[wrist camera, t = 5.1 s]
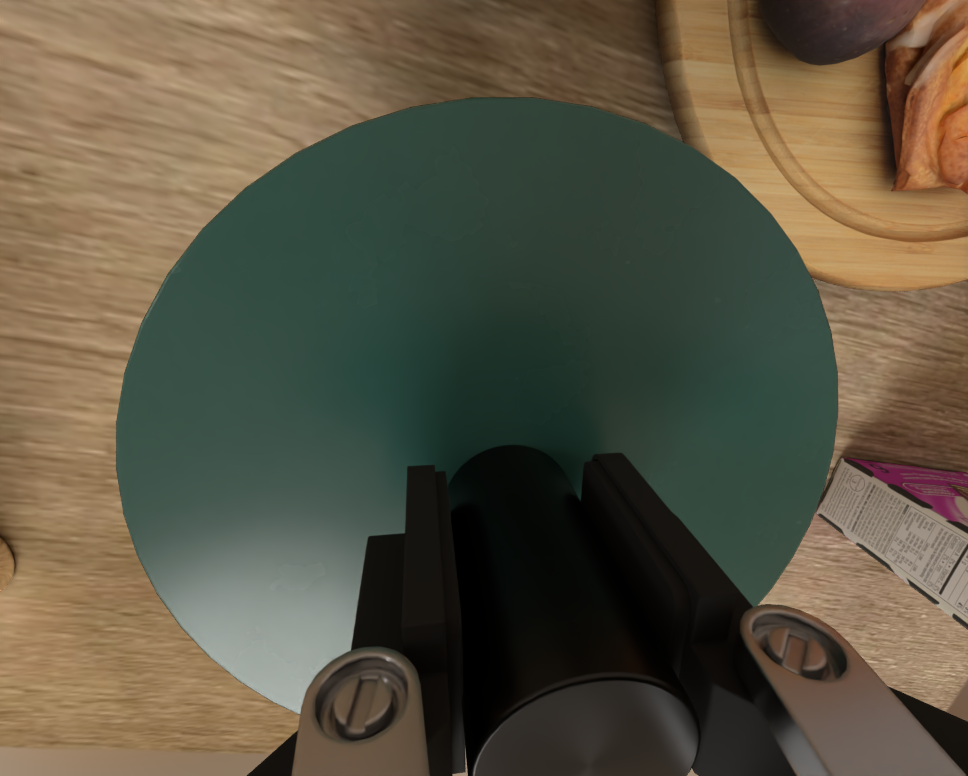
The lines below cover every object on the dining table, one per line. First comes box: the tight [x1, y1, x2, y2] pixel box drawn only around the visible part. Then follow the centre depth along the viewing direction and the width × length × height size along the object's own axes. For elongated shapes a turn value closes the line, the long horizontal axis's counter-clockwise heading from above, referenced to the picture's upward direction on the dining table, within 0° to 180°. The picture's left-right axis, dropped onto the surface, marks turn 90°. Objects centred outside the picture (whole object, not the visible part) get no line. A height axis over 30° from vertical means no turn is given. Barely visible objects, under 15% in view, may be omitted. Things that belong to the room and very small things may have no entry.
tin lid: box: [116, 97, 838, 776], centre depth 9 cm, size 16×16×7 cm
